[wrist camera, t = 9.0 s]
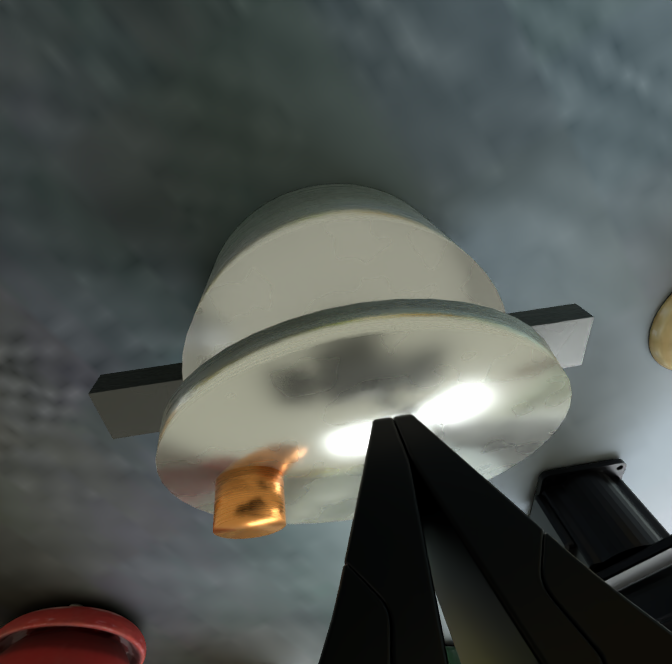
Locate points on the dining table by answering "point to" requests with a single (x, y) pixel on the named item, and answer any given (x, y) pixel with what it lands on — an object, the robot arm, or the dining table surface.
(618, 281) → the dining table surface
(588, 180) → the dining table surface
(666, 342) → the hand bell
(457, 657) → the coffee jar
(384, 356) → the cooker lid
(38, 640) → the plant pot
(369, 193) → the cooker pot
